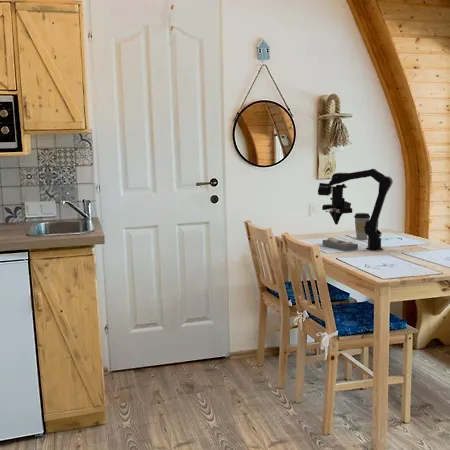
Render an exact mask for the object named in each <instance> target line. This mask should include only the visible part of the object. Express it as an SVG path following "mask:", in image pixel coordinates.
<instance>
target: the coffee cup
mask: <svg viewBox="0 0 450 450" xmlns="http://www.w3.org/2000/svg"><path fill="white" fill-rule="evenodd" d="M353 218H354V226H355V233H356V234H355V235H356V240H360V241H361V240H364V241H365V240H367V239H368V235H367V234H366V233H365V231H364V230H365V228H364V227H365V224H366V221H367V220H368V219H369V220H370V218H371V216H370V214H369V212H368V213H365V212H358V213H355V214H354V216H353Z"/></svg>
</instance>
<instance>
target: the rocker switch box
mask: <svg viewBox="0 0 450 450" xmlns="http://www.w3.org/2000/svg"><path fill="white" fill-rule="evenodd" d="M338 240H339V241H340V242H332V241H329V240H328V239H322V246H323V247H327V248H331V247H332V248H331V249H335V250H336V249H337V250H339V251H343V252H350V251H351V252H352V251H357V250H359V244H358V243H354V242H352V244H341V243H342V242H347V241H345V240H342V239H338Z"/></svg>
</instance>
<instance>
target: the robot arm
mask: <svg viewBox="0 0 450 450" xmlns="http://www.w3.org/2000/svg"><path fill="white" fill-rule="evenodd" d="M368 177H371V178H373V180H375V181H376V182H377V183H378V193H377V197H376V200H375V203H374V206H373V210H372V213H371V216H370V219H368V220H367V221H366V224H365V227H364V228H365V230H364V231H365V233H366V234H367V239H368V240H367V247H365V249H366V250H370V251H374V252H375V251H380V250H381V251H382V250H384V247H382V238H381V237H382V232H381V231H380V230H379V229H378V228H379V220H380V219H379V218H380V216H381V212H382V208H383V205H384V204H385V200H386V197H387V195H388V192H389V190H390V189H391V187H392V185H393V183H394V181H393V179H392V177H390V176H387V175H385V174H383V173H381V172H380V171H378V170H377V169H376V168H371V169H367V170H359V171H354V172H336V173H334V174H332V176H331V180H330V181H329V182H328V183H327V182H319V183H318V184H319V185H318V189H317V194H318V196H325V197H326V196H327V197H328V196H330V195H331V197H330V201H331V204H329V203H328V204H327V203H326V204H322V208H321V210H322V211H326V210H329V211H328V213H329V215H330V216H331V218H332V220H333V222H334V224H335V225H338V224H339V222H340V219H341V217H342V215H343V214H353V208H352V207H351V205H352V203H351V202H349V201H346V199H345V197H344V189H346V188H348V186H347V185H346V184H345V182H347V181H350V180H355V179H357V180H358V179H363V178H368Z"/></svg>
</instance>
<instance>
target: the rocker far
mask: <svg viewBox="0 0 450 450" xmlns="http://www.w3.org/2000/svg"><path fill="white" fill-rule="evenodd" d="M327 240H329V241H332V242H340V241H339V240H340V239H337V238H335V237H327Z"/></svg>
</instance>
